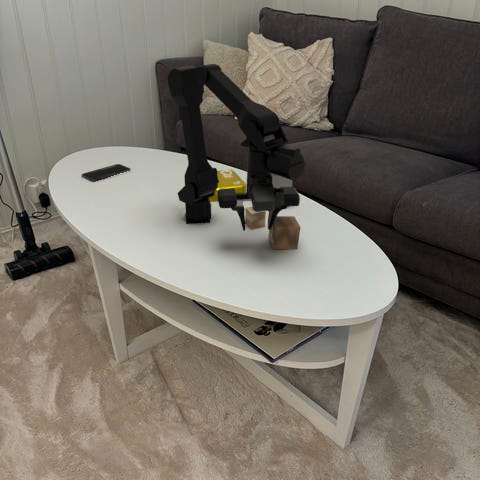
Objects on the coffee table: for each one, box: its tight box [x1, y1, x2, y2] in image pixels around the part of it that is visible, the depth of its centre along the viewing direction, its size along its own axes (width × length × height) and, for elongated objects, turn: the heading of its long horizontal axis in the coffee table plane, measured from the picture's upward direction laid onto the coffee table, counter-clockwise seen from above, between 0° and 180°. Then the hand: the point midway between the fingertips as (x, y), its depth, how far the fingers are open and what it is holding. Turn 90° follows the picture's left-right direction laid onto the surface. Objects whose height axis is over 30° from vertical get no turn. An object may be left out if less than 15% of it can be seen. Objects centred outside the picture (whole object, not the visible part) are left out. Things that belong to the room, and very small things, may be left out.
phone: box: [81, 163, 131, 183], centre depth 159 cm, size 8×1×15 cm
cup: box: [272, 174, 293, 209], centre depth 137 cm, size 8×8×10 cm
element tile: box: [209, 169, 247, 203], centre depth 146 cm, size 15×15×5 cm
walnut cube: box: [268, 215, 302, 250], centre depth 115 cm, size 6×6×6 cm
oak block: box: [244, 206, 267, 230], centre depth 125 cm, size 4×4×5 cm
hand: (256, 229), depth 114 cm, fingers open, 6 cm apart
